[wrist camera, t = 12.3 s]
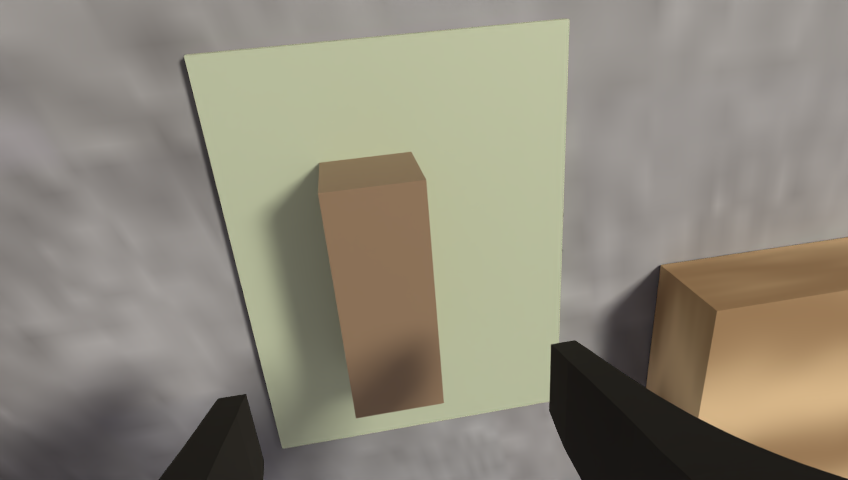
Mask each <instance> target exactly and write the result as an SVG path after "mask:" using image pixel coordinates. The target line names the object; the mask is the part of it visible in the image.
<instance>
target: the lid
mask: <svg viewBox="0 0 848 480" xmlns="http://www.w3.org/2000/svg"><path fill="white" fill-rule="evenodd" d="M568 49H569V19H555V20H544V21H534V22H523V23H513V24H502V25H492V26H481V27H471V28H460V29H450V30H439V31H429V32H418V33H408V34H397V35H386V36H376V37H365V38H355V39H344V40H334V41H323V42H313V43H302V44H292V45H281V46H271V47H260V48H250V49H239V50H229V51H218V52H208V53H197V54H187V55H184V59H185V63H186V67H187V71H188V75H189V79H190V83H191V87H192V91H193V95H194V99H195V103H196V107H197V110H198V114H199V118H200V122H201V126H202V130H203V134H204V138H205V142H206V146H207V150H208V154H209V158H210V162H211V166H212V170H213V174H214V178H215V182H216V186H217V190H218V194H219V198H220V202H221V206H222V210H223V214H224V218H225V222H226V226H227V230H228V234H229V238H230V242H231V246H232V250H233V254H234V258H235V262H236V266H237V270H238V274H239V278H240V282H241V286H242V290H243V294H244V298H245V302H246V306H247V310H248V314H249V318H250V322H251V326H252V330H253V334H254V338H255V342H256V346H257V350H258V354H259V358H260V362H261V366H262V370H263V374H264V378H265V382H266V386H267V390H268V394H269V398H270V402H271V406H272V410H273V414H274V418H275V422H276V426H277V430H278V434H279V437H280V441H281V445H282V449H285V448H290V447H296V446H302V445H307V444H313V443H319V442H324V441H330V440H335V439H341V438H347V437H352V436H358V435H364V434H369V433H375V432H381V431H386V430H392V429H397V428H403V427H409V426H414V425H420V424H426V423H431V422H437V421H443V420H448V419H454V418H459V417H465V416H471V415H476V414H482V413H488V412H493V411H499V410H505V409H510V408H516V407H521V406H527V405H533V404H538V403H544V402H550V361H551V344H556V343H559V323H560V293H561V262H562V232H563V202H564V171H565V141H566V110H567V80H568Z"/></svg>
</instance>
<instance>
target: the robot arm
mask: <svg viewBox="0 0 848 480" xmlns="http://www.w3.org/2000/svg"><path fill="white" fill-rule="evenodd" d="M549 411H550V414H551V416H552V419H553V421H554V424H555V427H556V429H557V432H558V434H559V436H560V439H561V441H562V444H563V446H564V448H565V450H566V452H567V454H568V456H569V458H570V460H571V461H572V463H573V465H574V467H575V469H576V470H577V472H578V474H579V476H580V478H581V479H582V480H848V479H847V478H844V477H841V476H838V475H835V474H832V473H829V472H826V471H823V470H820V469H817V468H814V467H811V466H808V465H805V464H802V463H800V462H797V461H794V460H791V459H789V458H786V457H783V456H781V455H778V454H776V453H773V452H771V451H769V450H766V449H764V448H761V447H759V446H756V445H754V444H752V443H749V442H747V441H745V440H742V439H740V438H738V437H736V436H733V435H731V434H729V433H727V432H725V431H723V430H721V429H719V428H717V427H715V426H713V425H711V424H709V423H707V422H705V421H703V420H701V419H699V418H697V417H695V416H693V415H691V414H689V413H688V412H686V411H684V410H682V409H681V408H679V407H677V406H675V405H674V404H672V403H670V402H668V401H667V400H665V399H663V398H662V397H660V396H658V395H657V394H655V393H653V392H652V391H650V390H648V389H647V388H645V387H644V386H642V385H641V384H639V383H638V382H636V381H634V380H633V379H631V378H630V377H628V376H627V375H625V374H624V373H622V372H621V371H619V370H618V369H616V368H615V367H613V366H612V365H611V364H609V363H608V362H606V361H605V360H603V359H602V358H600V357H599V356H597V355H596V354H595V353H593V352H592V351H590V350H589V349H587V348H586V347H584V346H583V345H581V344H580V343H578V342H577V341H569V342H563V343H556V344H551V361H550V404H549ZM263 472H264V459H263V456H262V452H261V448H260V445H259V441H258V437H257V433H256V430H255V426H254V422H253V418H252V415H251V411H250V407H249V403H248V400H247V396H246V394H243V395H237V396H231V397H225V398H219V399H218V400H217V401H216V402H215V404H214V405H213V406H212V408H211V409H210V410H209V412H208V413H207V415H206V416H205V418H204V419H203V420H202V422H201V423H200V425H199V426H198V427H197V429H196V430H195V432H194V433H193V435H192V436H191V437H190V439H189V440H188V441H187V443H186V444H185V446H184V447H183V448H182V450H181V451H180V452H179V454H178V455H177V456H176V458H175V459H174V460H173V462H172V463H171V464H170V466H169V467H168V468H167V470H166V471H165V472H164V474H163V475H162V476H161V477H160V479H159V480H263Z"/></svg>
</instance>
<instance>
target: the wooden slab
mask: <svg viewBox="0 0 848 480" xmlns="http://www.w3.org/2000/svg"><path fill="white" fill-rule="evenodd" d="M646 388H647V389H648V390H650V391H652V392H653V393H655V394H657V395H658V396H660V397H662V398H663V399H665V400H667V401H668V402H670V403H672V404H674V405H675V406H677V407H679V408H681V409H682V410H684V411H686V412H688V413H689V414H691V415H693V416H695V417H697V418H699V419H701V420H703V421H705V422H707V423H709V424H711V425H713V426H715V427H717V428H719V429H721V430H723V431H725V432H727V433H729V434H731V435H733V436H736V437H738V438H740V439H742V440H745V441H747V442H749V443H752V444H754V445H756V446H759V447H761V448H764V449H766V450H769V451H771V452H773V453H776V454H778V455H781V456H783V457H786V458H789V459H791V460H794V461H797V462H800V463H802V464H805V465H808V466H811V467H814V468H817V469H820V470H823V471H826V472H829V473H832V474H835V475H838V476H841V477H844V478H847V479H848V237H846V238H840V239H833V240H826V241H819V242H813V243H806V244H799V245H792V246H786V247H779V248H772V249H766V250H759V251H752V252H745V253H739V254H732V255H725V256H718V257H712V258H705V259H698V260H692V261H685V262H678V263H671V264H665V265H661V267H660V276H659V284H658V292H657V301H656V309H655V317H654V326H653V334H652V342H651V351H650V359H649V367H648V376H647V384H646Z"/></svg>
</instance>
